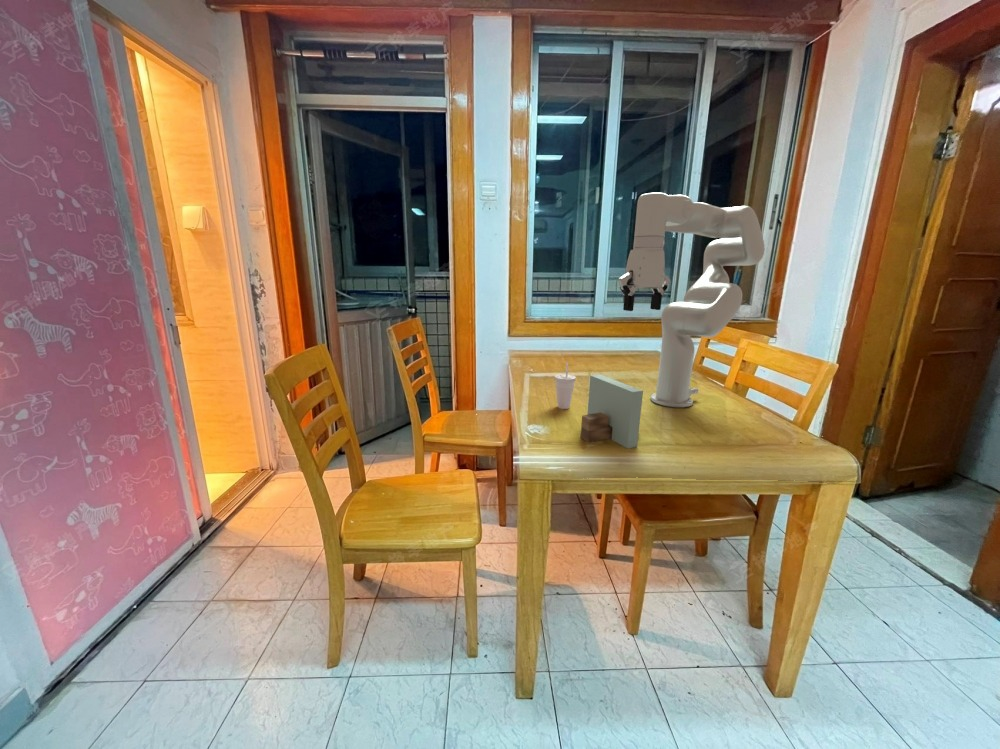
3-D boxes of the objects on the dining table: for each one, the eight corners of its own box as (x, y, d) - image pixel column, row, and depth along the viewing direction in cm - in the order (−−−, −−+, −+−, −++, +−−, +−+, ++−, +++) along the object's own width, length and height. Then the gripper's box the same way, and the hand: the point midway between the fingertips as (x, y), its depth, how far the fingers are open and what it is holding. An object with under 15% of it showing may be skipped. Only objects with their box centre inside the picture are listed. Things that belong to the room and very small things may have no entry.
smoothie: (563, 411, 119) (566, 366, 115) (548, 406, 124) (550, 361, 120) (578, 407, 123) (581, 363, 119) (563, 402, 128) (565, 359, 124)
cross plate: (586, 425, 109) (590, 375, 106) (595, 423, 110) (599, 374, 107) (627, 448, 95) (633, 392, 92) (637, 446, 96) (643, 390, 93)
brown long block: (630, 428, 107) (632, 407, 106) (638, 432, 105) (640, 410, 103) (580, 437, 101) (582, 415, 99) (587, 442, 98) (589, 419, 97)
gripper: (662, 246, 113) (655, 307, 117) (612, 244, 106) (607, 309, 110) (684, 245, 106) (675, 310, 110) (633, 242, 99) (626, 312, 103)
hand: (641, 310), depth 110 cm, fingers open, 9 cm apart
